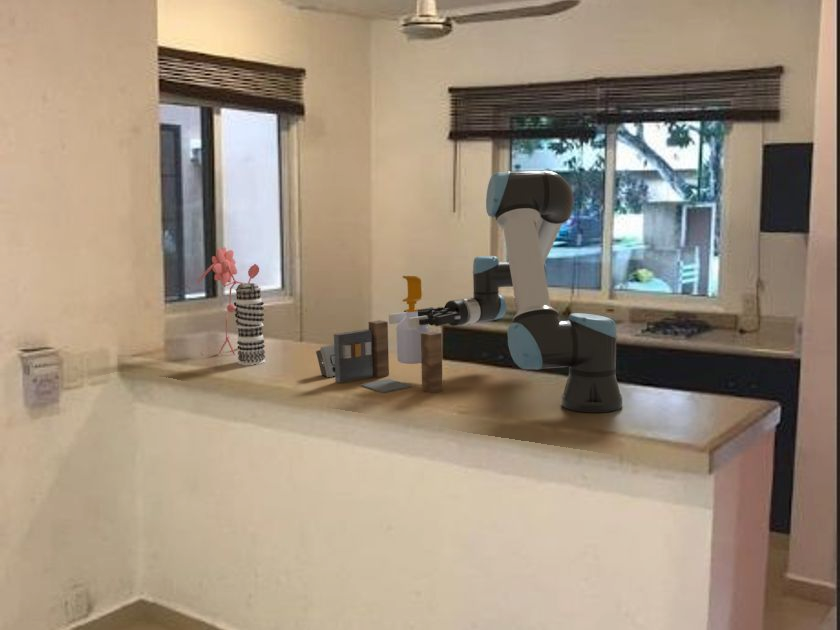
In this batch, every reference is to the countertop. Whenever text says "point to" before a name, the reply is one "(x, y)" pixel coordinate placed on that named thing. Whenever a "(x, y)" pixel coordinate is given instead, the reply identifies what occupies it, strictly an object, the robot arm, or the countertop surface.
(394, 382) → the pad
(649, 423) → the countertop surface
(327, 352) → the electrical switch
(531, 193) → the robot arm
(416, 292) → the soap bottle
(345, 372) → the breaker panel
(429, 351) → the gate
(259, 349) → the decorative candle
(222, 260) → the figurine
